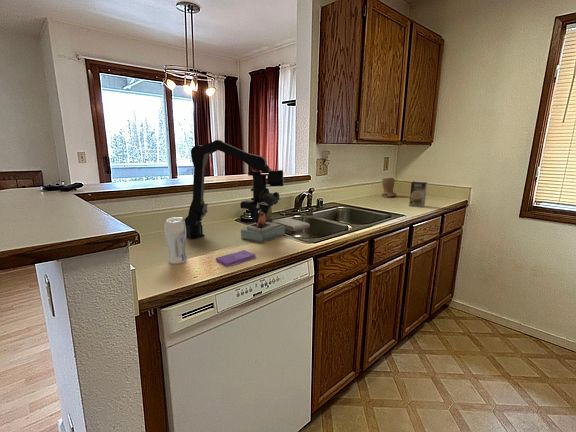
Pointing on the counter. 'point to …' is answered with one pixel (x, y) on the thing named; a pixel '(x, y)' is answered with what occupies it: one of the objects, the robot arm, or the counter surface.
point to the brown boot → (388, 187)
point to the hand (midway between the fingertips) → (260, 221)
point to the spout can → (261, 220)
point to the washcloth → (292, 224)
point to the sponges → (235, 258)
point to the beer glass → (176, 239)
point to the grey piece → (262, 232)
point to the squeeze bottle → (268, 214)
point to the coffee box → (418, 194)
